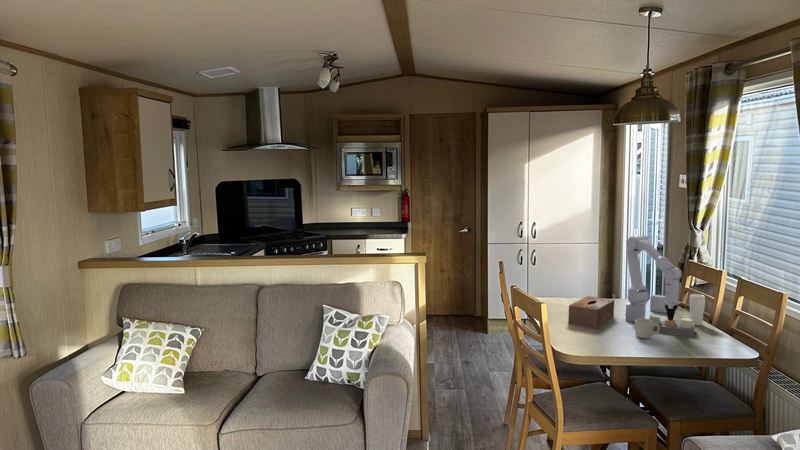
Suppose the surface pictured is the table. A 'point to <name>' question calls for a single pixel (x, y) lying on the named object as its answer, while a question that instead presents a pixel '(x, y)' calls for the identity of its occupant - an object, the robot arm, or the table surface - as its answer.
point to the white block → (686, 323)
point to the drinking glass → (697, 308)
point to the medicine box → (657, 303)
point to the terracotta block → (670, 322)
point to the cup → (645, 328)
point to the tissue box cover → (591, 312)
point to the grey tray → (675, 329)
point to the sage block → (655, 318)
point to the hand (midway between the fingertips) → (670, 319)
